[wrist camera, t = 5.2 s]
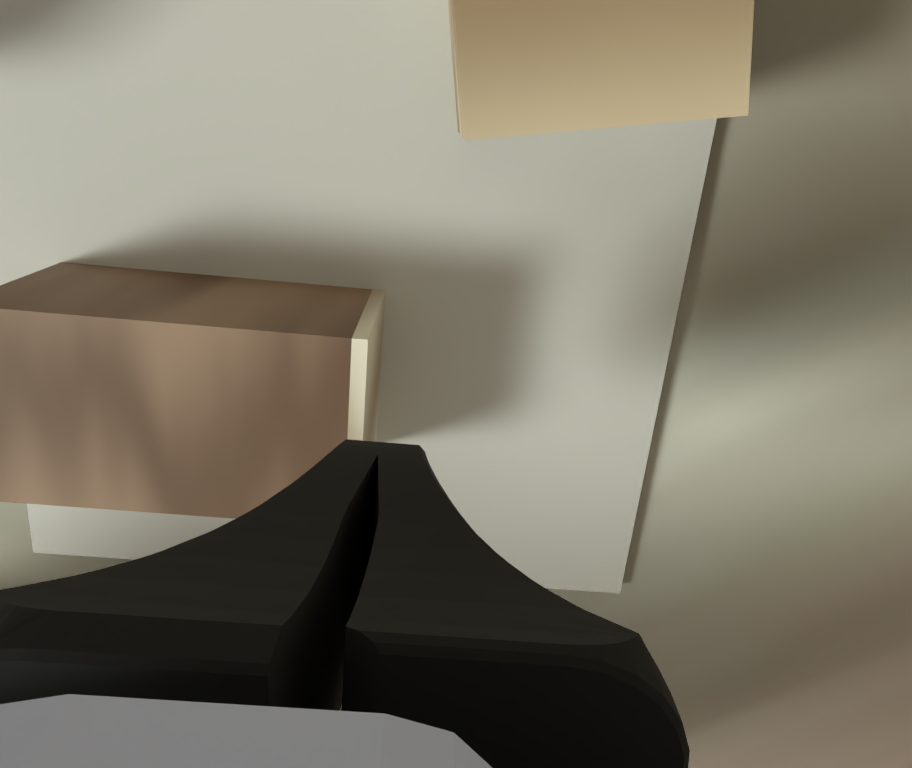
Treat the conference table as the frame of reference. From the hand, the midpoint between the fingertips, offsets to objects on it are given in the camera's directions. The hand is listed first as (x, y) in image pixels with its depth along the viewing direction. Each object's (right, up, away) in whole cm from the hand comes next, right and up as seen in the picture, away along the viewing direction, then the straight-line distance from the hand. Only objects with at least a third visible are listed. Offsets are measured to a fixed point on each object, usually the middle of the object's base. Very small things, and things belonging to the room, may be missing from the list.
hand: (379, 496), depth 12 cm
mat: (-1, +5, +5) cm, 7 cm away
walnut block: (-1, +2, +4) cm, 4 cm away
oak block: (+3, +9, +3) cm, 10 cm away
